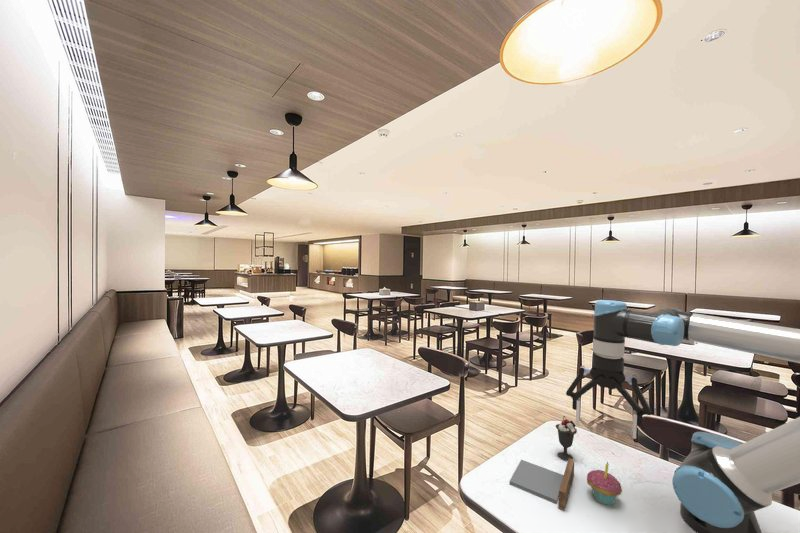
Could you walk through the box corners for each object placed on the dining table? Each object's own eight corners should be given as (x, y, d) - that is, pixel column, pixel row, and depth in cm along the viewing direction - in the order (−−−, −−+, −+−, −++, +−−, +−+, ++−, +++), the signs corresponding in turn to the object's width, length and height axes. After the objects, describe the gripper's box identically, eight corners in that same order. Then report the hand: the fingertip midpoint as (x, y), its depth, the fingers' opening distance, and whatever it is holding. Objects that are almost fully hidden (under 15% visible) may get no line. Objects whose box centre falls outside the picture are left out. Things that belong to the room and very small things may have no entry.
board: (564, 478, 101) (564, 475, 101) (556, 503, 90) (556, 500, 90) (521, 462, 108) (521, 459, 108) (509, 484, 98) (509, 480, 98)
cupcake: (626, 512, 87) (628, 469, 87) (592, 507, 89) (594, 464, 89) (612, 490, 96) (614, 450, 95) (581, 485, 98) (583, 446, 97)
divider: (573, 475, 102) (574, 459, 102) (564, 511, 87) (565, 493, 87) (568, 473, 103) (568, 457, 103) (558, 508, 88) (558, 490, 88)
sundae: (556, 460, 109) (557, 417, 109) (553, 449, 116) (554, 408, 115) (578, 464, 107) (579, 420, 107) (573, 453, 114) (574, 411, 113)
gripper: (663, 360, 87) (659, 437, 88) (561, 344, 102) (559, 410, 102) (665, 368, 81) (662, 450, 82) (557, 349, 96) (554, 419, 96)
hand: (604, 428), depth 92 cm, fingers open, 13 cm apart
